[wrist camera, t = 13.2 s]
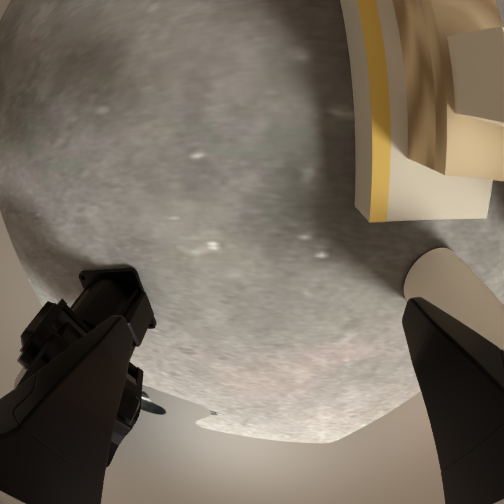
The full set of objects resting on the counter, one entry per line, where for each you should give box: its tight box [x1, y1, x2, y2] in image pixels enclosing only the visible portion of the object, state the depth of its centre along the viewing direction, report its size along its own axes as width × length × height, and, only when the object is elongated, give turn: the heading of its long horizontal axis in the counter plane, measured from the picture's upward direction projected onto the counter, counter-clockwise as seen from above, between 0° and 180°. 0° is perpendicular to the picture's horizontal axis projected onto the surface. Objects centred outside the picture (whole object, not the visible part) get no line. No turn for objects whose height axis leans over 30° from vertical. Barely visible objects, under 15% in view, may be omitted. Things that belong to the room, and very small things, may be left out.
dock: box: [340, 0, 493, 223], centre depth 9 cm, size 11×30×3 cm, turn 6°
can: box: [404, 248, 504, 351], centre depth 16 cm, size 6×6×12 cm
